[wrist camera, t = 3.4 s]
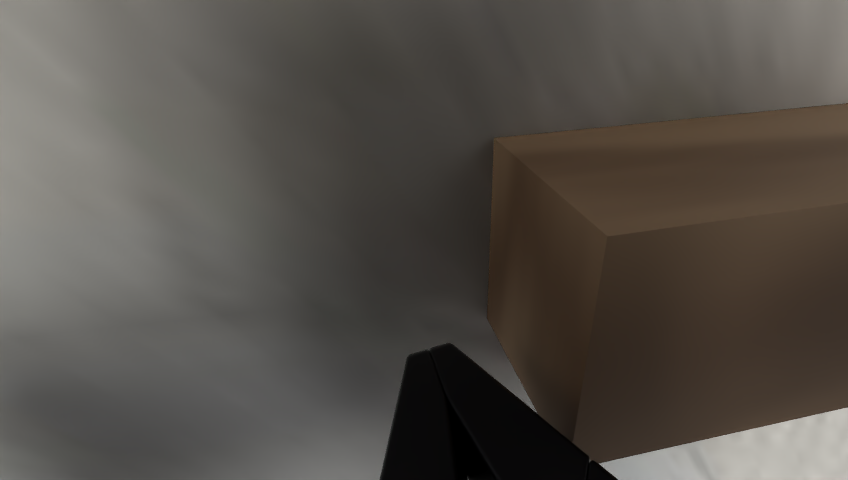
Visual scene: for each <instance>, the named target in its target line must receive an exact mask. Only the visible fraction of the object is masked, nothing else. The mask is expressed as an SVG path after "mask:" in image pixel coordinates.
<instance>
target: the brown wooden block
mask: <svg viewBox="0 0 848 480" xmlns="http://www.w3.org/2000/svg"><path fill="white" fill-rule="evenodd" d="M487 319H488V321H489V323H490V325H491V327H492V329H493V331H494V332H495V334H496V336H497V338H498V340H499V342H500V344H501V346H502V347H503V349H504V351H505V353H506V355H507V357H508V359H509V360H510V362H511V364H512V366H513V368H514V370H515V372H516V374H517V375H518V377H519V379H520V381H521V383H522V385H523V387H524V389H525V390H526V392H527V394H528V396H529V398H530V400H531V402H532V403H533V405H534V407H535V409H536V411H537V413H538V415H539V416H541V417H542V418H543V419H544V420H546V421H547V422H548V423H549V424H550V425H552V426H553V427H554V428H555V429H556V430H558V431H559V432H560V433H561V434H563V435H564V436H565V437H566V438H567V439H569V440H570V441H571V442H572V443H574V444H575V445H576V446H577V447H578V448H580V449H581V450H582V451H583V452H584V453H586V454H587V455H588V456H589V457H590V461H591V460H594V461H596V462H597V463H602V462H607V461H611V460H615V459H620V458H624V457H629V456H633V455H638V454H642V453H647V452H651V451H655V450H660V449H664V448H669V447H673V446H678V445H682V444H687V443H691V442H695V441H700V440H704V439H709V438H713V437H718V436H722V435H727V434H731V433H735V432H740V431H744V430H749V429H753V428H758V427H762V426H767V425H771V424H775V423H780V422H784V421H789V420H793V419H798V418H802V417H807V416H811V415H815V414H820V413H824V412H829V411H833V410H838V409H842V408H847V407H848V103H845V104H835V105H825V106H815V107H804V108H794V109H784V110H774V111H764V112H753V113H743V114H733V115H723V116H713V117H702V118H692V119H682V120H672V121H662V122H651V123H641V124H631V125H621V126H611V127H600V128H590V129H580V130H570V131H560V132H550V133H539V134H529V135H519V136H509V137H499V138H494V151H493V177H492V202H491V228H490V254H489V279H488V305H487Z"/></svg>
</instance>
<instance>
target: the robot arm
mask: <svg viewBox="0 0 848 480" xmlns="http://www.w3.org/2000/svg"><path fill="white" fill-rule="evenodd" d="M467 477H468V478H467ZM468 479H469V480H618V479H617V478H615V477H614V476H613V475H612V474H610V473H609V472H608V471H607V470H605V469H604V468H603V467H602V466H601V465H599V464H598V463H597V462H596V461H594V460H591V461H590V457H589V456H588V455H587V454H586V453H584V452H583V451H582V450H581V449H580V448H578V447H577V446H576V445H575V444H574V443H572V442H571V441H570V440H569V439H567V438H566V437H565V436H564V435H563V434H561V433H560V432H559V431H558V430H556V429H555V428H554V427H553V426H552V425H550V424H549V423H548V422H547V421H546V420H544V419H543V418H542V417H541V416H539V415H538V414H537V413H536V412H535V411H533V410H532V409H531V408H530V407H528V406H527V405H526V404H525V403H524V402H522V401H521V400H520V399H519V398H518V397H516V396H515V395H514V394H513V393H511V392H510V391H509V390H508V389H507V388H505V387H504V386H503V385H502V384H501V383H499V382H498V381H497V380H496V379H494V378H493V377H492V376H491V375H490V374H488V373H487V372H486V371H485V370H483V369H482V368H481V367H480V366H479V365H477V364H476V363H475V362H474V361H473V360H471V359H470V358H469V357H468V356H466V355H465V354H464V353H463V352H462V351H460V350H459V349H458V348H457V347H455V346H454V345H453V344H451V343H446V344H442V345H439V346H436V347H433V348H431V349H430V350H423V351H420V352H417V353H414V354H410V355H409V356H408V357H407V359H406V364H405V368H404V373H403V377H402V382H401V386H400V391H399V395H398V400H397V404H396V408H395V413H394V417H393V422H392V426H391V431H390V435H389V440H388V444H387V449H386V453H385V458H384V462H383V467H382V471H381V476H380V480H468Z"/></svg>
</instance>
